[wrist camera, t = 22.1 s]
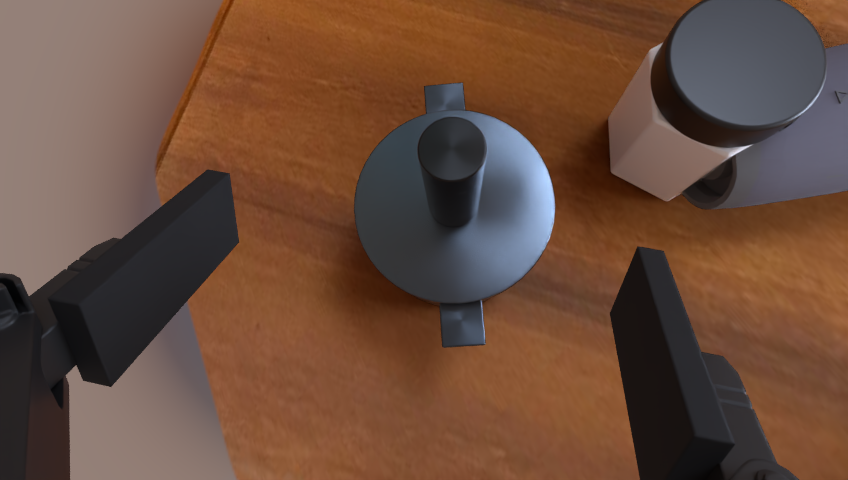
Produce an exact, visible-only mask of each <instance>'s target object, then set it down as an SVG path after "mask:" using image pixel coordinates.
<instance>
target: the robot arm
mask: <svg viewBox="0 0 848 480" xmlns="http://www.w3.org/2000/svg"><path fill="white" fill-rule="evenodd" d="M238 243H239V238H238V231H237V224H236V217H235V209H234V202H233V195H232V188H231V180H230V173H224V172H219V171H213V170H206V171H205V172H204V173H203V174H201V175H200V176H199V177H198V178H196V179H195V180H194V181H193V182H191V183H190V184H189V185H188V186H186V187H185V188H184V189H183V190H182V191H180V192H179V193H178V194H177V195H175V196H174V197H173V198H172V199H170V200H169V201H168V202H167V203H165V204H164V205H163V206H162V207H160V208H159V209H158V210H157V211H155V212H154V213H153V214H152V215H150V216H149V217H148V218H147V219H145V220H144V221H143V222H142V223H141V224H139V225H138V226H137V227H135V228H134V229H133V230H132V231H131V232H129V233H128V234H127V235H125V236H124V237H123V238H122V239H117V238H112V239H110V240H108V241H105V242H103V243H101V244H98V245H96V246H94V247H93V248H91V249H90V250H89V251H88V252H86V253H85V254H84V255H82V256H81V257H80V259H79V260H76V261H75V262H73V263H72V264H71V265H69V266H68V268H67V270H66V269H65V270H63V271H62V272H60V273H59V274H58V275H56V276H55V277H54V278H53V279H51V280H50V281H49V282H47V283H46V284H45V285H43V286H42V287H41V288H40V289H38V290H37V291H36V292H34V293H33V294H32V295H30V296H28V294H27V292H26V290H25V287H24V285H23V283H22V281H21V279H20V278H19V277H17V276H15V275H12V274H5V273H0V480H70V444H69V443H70V440H69V439H70V438H69V436H70V435H69V384H68V381H67V378H66V376H65V375H66V374H67V373H68V372H69V371H70V370H71V369H72V368H73V367H74V366H75V365H77V367H78V369H79V372H80V374H81V377H82V379H83V381H87V382H92V383H96V384H101V385H105V386H109V387H111V386H112V385H113V384H114V383H115V382H116V381H117V380H118V379H119V377H120V376H121V375H122V374H123V373H124V372H125V371H126V369H127V368H128V367H129V366H130V365H131V364H132V363H133V362H134V360H135V359H136V358H137V357H138V356H139V355H140V354H141V353H142V351H143V350H144V349H145V348H146V347H147V346H148V345H149V343H150V342H151V341H152V340H153V339H154V338H155V337H156V336H157V334H158V333H159V332H160V331H161V330H162V329H163V328H164V326H165V325H166V324H167V323H168V322H169V321H170V320H171V319H172V317H173V316H174V315H175V314H176V313H177V312H178V311H179V309H180V308H181V307H182V306H183V305H184V304H185V303H186V302H187V300H188V299H189V298H190V297H191V296H192V295H193V294H194V292H195V291H196V290H197V289H198V288H199V287H200V286H201V285H202V283H203V282H204V281H205V280H206V279H207V278H208V277H209V276H210V274H211V273H212V272H213V271H214V270H215V269H216V268H217V266H218V265H219V264H220V263H221V262H222V261H223V260H224V259H225V257H226V256H227V255H228V254H229V253H230V252H231V251H232V249H233V248H234V247H235V246H236V245H237V244H238ZM610 317H611V322H612V328H613V333H614V339H615V344H616V350H617V355H618V360H619V366H620V371H621V377H622V382H623V388H624V393H625V399H626V404H627V410H628V415H629V421H630V426H631V432H632V437H633V443H634V448H635V454H636V459H637V465H638V470H639V476H640V480H799V479H798V478H797V477H796V476H794V475H793V474H792V473H791V472H790V471H789V470H787V469H785V468H784V467H782V466H780V465H778V464H777V462H776V460H775V457H774V455H773V453H772V450H771V448H770V446H769V443H768V441H767V439H766V436H765V434H764V432H763V430H762V427H761V425H760V423H759V420H758V418H757V416H756V413H755V411H754V409H752V404H751V402H750V400H749V397H748V395H746V394H745V392H746V390H745V388H744V386H743V383H742V381H741V379H740V377H739V374H738V373H737V372H736V370H735V369H734V368H733V367H732V366H731V365H730V364H729V363H728V361H727V360H726V359H725V358H724V357H723V356H719V355H714V354H709V353H704V352H701V350H700V348H699V345H698V342H697V340H696V337H695V334H694V331H693V329H692V326H691V323H690V321H689V318H688V315H687V313H686V310H685V307H684V305H683V302H682V299H681V296H680V294H679V291H678V288H677V286H676V283H675V280H674V278H673V275H672V272H671V270H670V267H669V264H668V261H667V259H666V256H665V253H664V251H661V250H655V249H650V248H644V247H637V249H636V252H635V254H634V256H633V259H632V261H631V264H630V266H629V269H628V271H627V273H626V276H625V278H624V281H623V283H622V285H621V288H620V290H619V293H618V295H617V298H616V300H615V302H614V305H613V307H612V310H611V312H610Z"/></svg>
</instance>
